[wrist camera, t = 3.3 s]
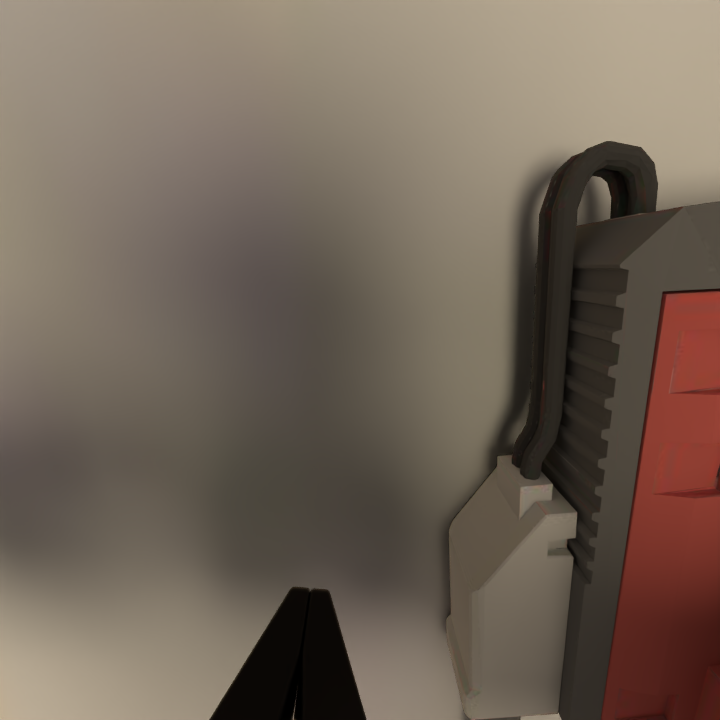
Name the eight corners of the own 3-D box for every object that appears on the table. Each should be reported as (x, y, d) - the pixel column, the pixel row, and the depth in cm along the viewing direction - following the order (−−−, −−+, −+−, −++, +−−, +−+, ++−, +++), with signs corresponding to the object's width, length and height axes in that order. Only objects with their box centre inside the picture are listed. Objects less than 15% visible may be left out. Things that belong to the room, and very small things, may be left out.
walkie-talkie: (423, 182, 7) (448, 782, 12) (537, 40, 3) (497, 1057, 8) (861, 137, 7) (689, 763, 12) (1755, -92, 2) (870, 1033, 8)
